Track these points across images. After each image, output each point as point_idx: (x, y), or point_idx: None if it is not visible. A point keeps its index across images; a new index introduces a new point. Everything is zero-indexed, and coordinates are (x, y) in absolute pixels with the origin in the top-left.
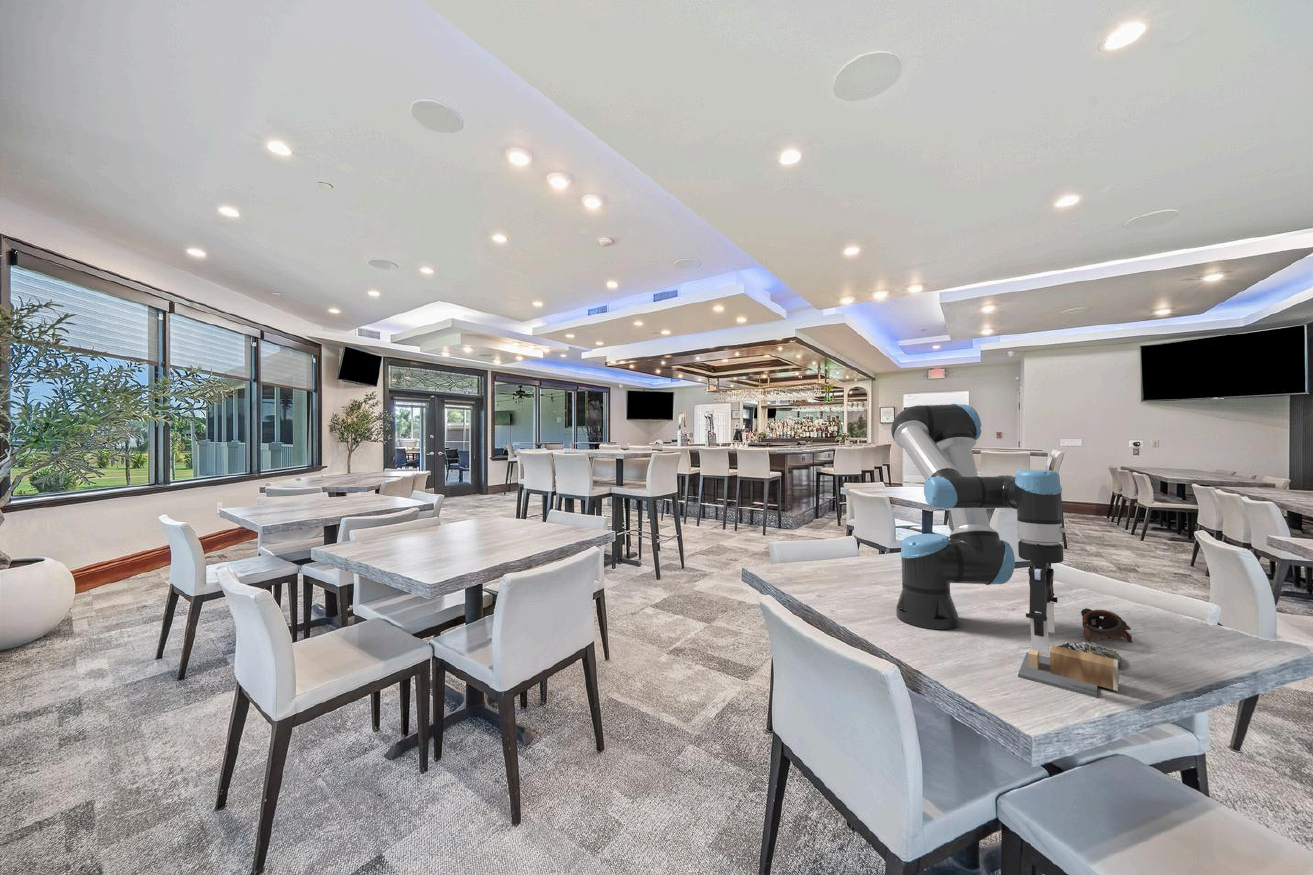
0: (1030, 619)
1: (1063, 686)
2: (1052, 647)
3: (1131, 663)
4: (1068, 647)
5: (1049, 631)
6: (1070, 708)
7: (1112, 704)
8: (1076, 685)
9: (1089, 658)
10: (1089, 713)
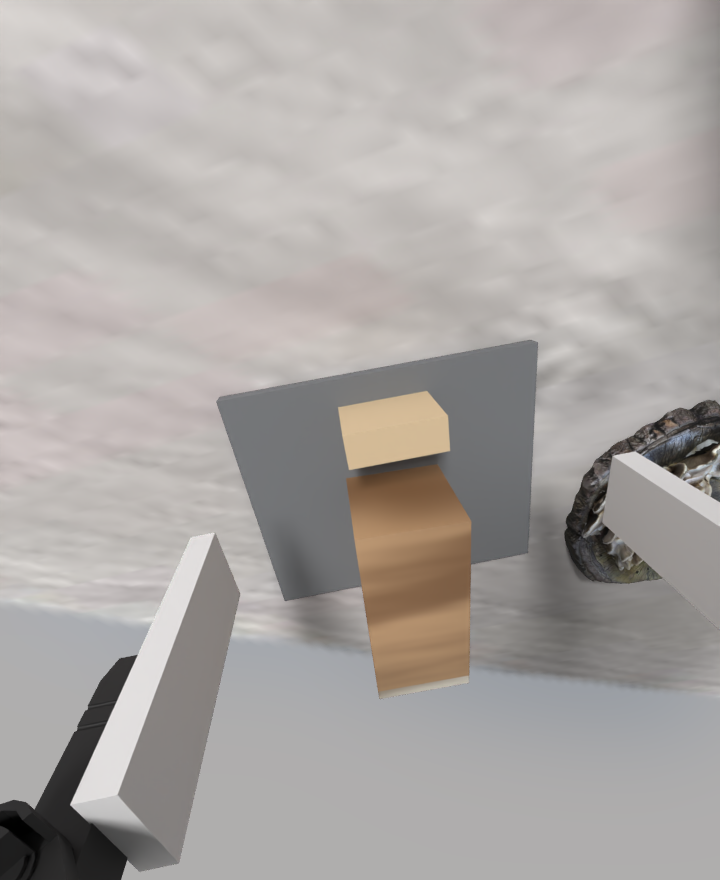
0: (86, 773)
1: (263, 531)
2: (431, 529)
3: None
4: (707, 441)
5: (606, 505)
6: (119, 576)
7: (273, 621)
8: (306, 554)
9: (404, 639)
10: (141, 609)
